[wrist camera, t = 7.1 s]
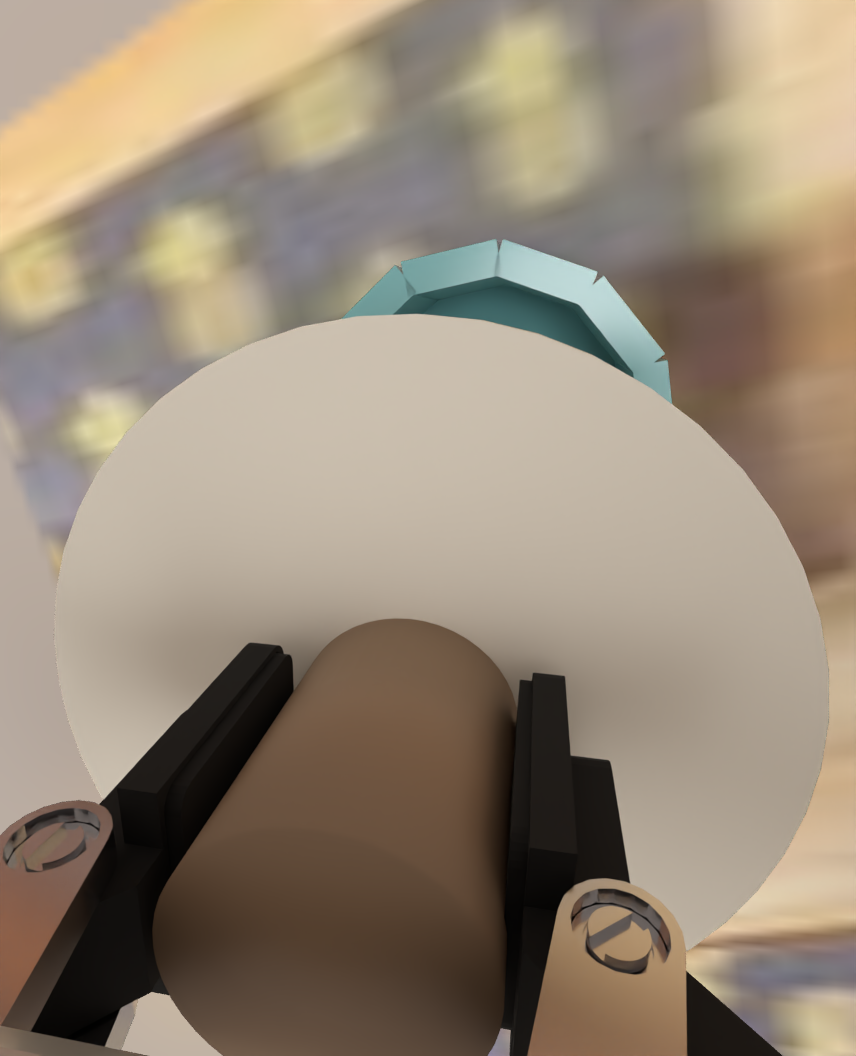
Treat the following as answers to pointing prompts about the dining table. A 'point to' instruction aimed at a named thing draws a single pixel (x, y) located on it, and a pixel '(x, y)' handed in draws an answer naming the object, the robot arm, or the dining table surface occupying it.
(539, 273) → the bowl
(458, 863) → the lid
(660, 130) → the dining table surface
